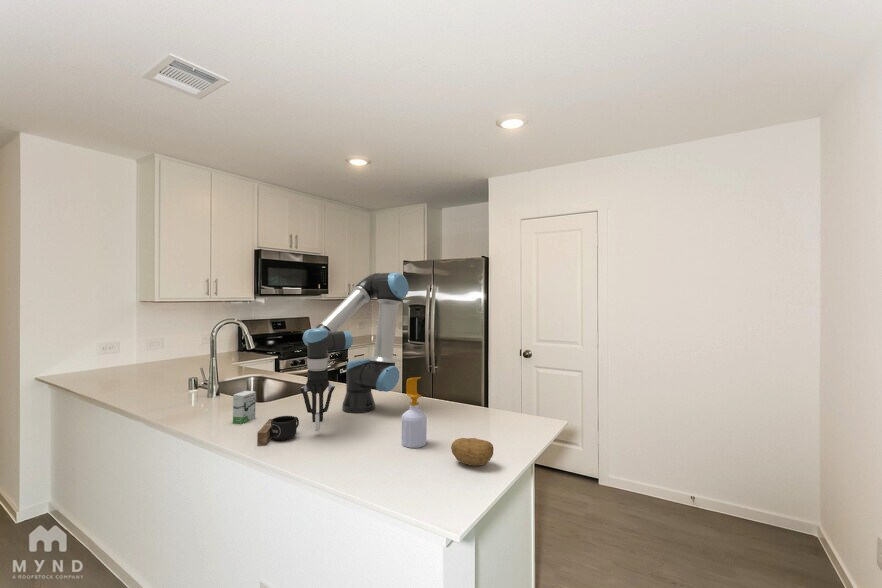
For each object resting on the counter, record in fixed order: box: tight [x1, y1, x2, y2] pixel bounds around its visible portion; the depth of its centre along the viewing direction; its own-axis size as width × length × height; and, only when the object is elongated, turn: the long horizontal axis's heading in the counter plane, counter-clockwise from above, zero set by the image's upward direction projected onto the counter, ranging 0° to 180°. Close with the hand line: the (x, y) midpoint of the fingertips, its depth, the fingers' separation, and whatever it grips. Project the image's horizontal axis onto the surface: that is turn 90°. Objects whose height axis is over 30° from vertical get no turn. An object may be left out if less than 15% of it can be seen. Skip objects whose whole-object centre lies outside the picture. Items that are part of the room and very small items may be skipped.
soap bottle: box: [401, 376, 428, 449], centre depth 149 cm, size 9×9×25 cm
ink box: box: [232, 390, 257, 425], centre depth 173 cm, size 9×5×12 cm, turn 168°
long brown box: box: [256, 418, 273, 446], centre depth 153 cm, size 3×16×5 cm, turn 9°
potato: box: [450, 437, 494, 467], centre depth 132 cm, size 10×14×8 cm
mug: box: [271, 415, 300, 442], centre depth 154 cm, size 12×9×7 cm
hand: (317, 430), depth 156 cm, fingers closed
